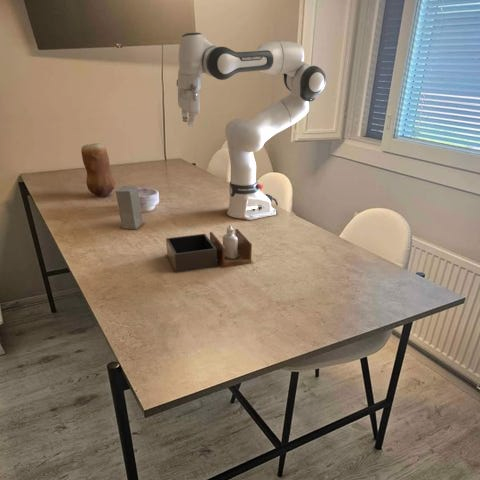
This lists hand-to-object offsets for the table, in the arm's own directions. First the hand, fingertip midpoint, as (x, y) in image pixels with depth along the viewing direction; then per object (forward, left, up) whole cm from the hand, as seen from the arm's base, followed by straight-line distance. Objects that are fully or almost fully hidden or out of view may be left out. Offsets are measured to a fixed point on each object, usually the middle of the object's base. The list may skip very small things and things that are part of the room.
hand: (187, 123), depth 166 cm
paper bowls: (+18, -21, -39) cm, 48 cm away
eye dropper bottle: (-3, +41, -39) cm, 57 cm away
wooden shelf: (-3, +41, -39) cm, 57 cm away
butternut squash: (+34, -46, -39) cm, 69 cm away
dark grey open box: (+11, +40, -39) cm, 57 cm away
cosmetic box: (+26, -1, -39) cm, 47 cm away
